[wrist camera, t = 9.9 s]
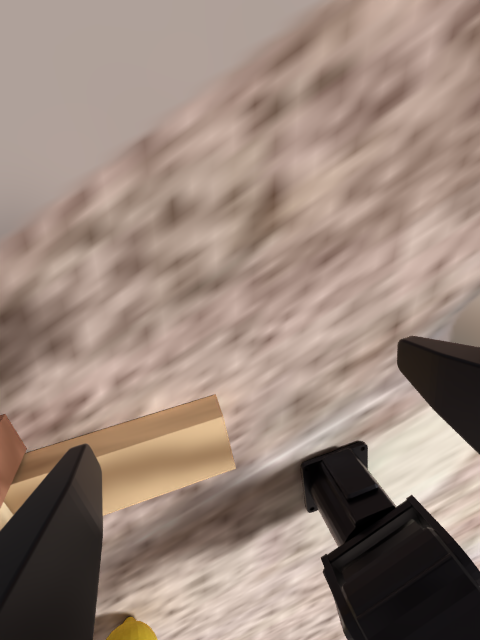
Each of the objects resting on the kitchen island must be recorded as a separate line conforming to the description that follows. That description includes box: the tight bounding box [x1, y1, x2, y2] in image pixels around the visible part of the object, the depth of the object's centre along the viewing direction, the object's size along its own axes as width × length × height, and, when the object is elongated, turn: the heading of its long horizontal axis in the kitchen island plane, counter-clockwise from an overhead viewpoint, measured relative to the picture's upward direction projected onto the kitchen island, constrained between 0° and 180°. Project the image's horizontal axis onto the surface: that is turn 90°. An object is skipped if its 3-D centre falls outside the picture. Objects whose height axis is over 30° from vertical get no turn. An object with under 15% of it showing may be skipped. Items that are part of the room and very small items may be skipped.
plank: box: [4, 395, 236, 516], centre depth 22 cm, size 5×20×2 cm, turn 100°
